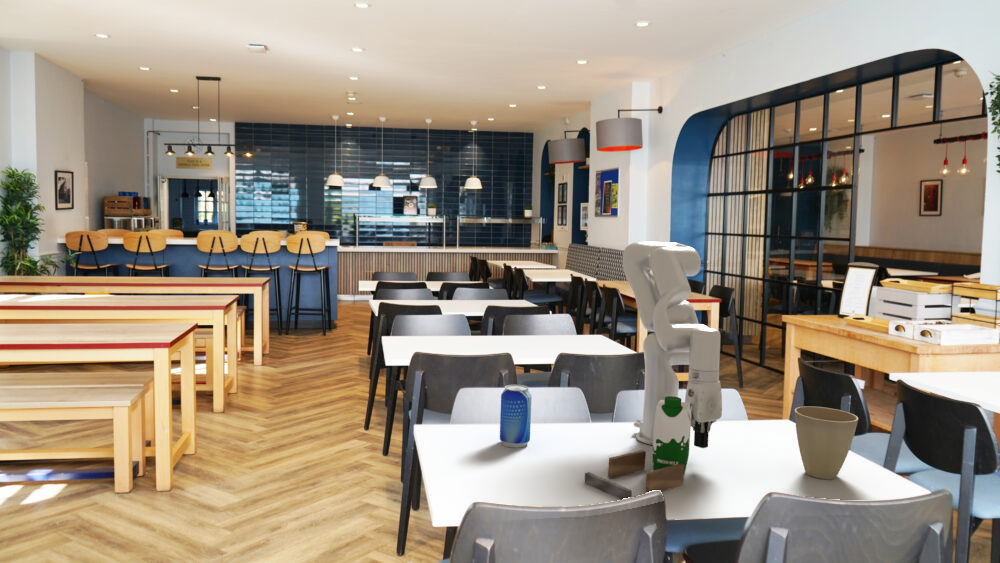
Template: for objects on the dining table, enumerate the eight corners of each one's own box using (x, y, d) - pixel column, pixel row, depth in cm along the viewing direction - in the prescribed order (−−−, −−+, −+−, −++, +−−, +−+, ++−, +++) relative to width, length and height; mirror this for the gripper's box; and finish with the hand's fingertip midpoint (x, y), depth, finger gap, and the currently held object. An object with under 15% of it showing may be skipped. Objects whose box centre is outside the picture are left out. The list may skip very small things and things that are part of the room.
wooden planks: (584, 483, 183) (585, 462, 183) (640, 468, 195) (641, 449, 195) (627, 501, 172) (628, 480, 172) (683, 485, 184) (685, 465, 184)
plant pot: (848, 489, 185) (854, 425, 184) (784, 476, 193) (789, 414, 191) (857, 472, 198) (862, 412, 196) (796, 460, 206) (801, 403, 204)
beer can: (494, 445, 210) (496, 388, 208) (506, 437, 218) (508, 382, 216) (523, 450, 207) (525, 392, 205) (533, 441, 215) (536, 386, 213)
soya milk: (649, 477, 189) (653, 398, 187) (654, 466, 197) (658, 390, 195) (685, 483, 186) (690, 402, 184) (689, 471, 194) (693, 394, 192)
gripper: (696, 381, 188) (694, 454, 189) (733, 375, 197) (730, 445, 198) (673, 376, 194) (670, 447, 195) (709, 371, 203) (707, 439, 204)
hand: (700, 446), depth 197 cm, fingers closed
